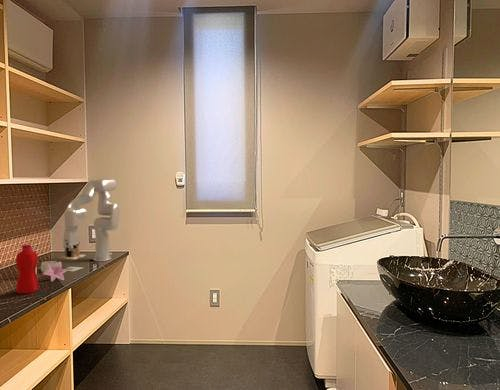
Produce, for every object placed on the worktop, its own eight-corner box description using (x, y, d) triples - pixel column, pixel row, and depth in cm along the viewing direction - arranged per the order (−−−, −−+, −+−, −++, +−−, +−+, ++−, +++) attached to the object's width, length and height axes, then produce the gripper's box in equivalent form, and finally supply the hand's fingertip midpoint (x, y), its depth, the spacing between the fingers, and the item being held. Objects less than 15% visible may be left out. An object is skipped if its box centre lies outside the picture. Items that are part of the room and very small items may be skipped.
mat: (69, 268, 267) (69, 266, 267) (84, 269, 265) (84, 267, 265) (58, 271, 256) (58, 270, 256) (73, 272, 254) (73, 271, 254)
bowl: (48, 269, 262) (48, 260, 262) (60, 270, 260) (60, 261, 260) (38, 273, 253) (38, 263, 253) (50, 273, 251) (50, 264, 251)
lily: (39, 283, 232) (42, 270, 229) (47, 271, 243) (50, 258, 239) (61, 288, 235) (64, 275, 232) (67, 276, 246) (70, 264, 242)
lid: (70, 254, 268) (70, 247, 268) (86, 255, 266) (85, 247, 265) (57, 258, 257) (57, 250, 256) (74, 259, 254) (73, 251, 254)
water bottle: (42, 288, 217) (41, 242, 216) (32, 294, 206) (31, 246, 205) (25, 288, 217) (24, 243, 216) (13, 294, 206) (12, 246, 205)
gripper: (74, 226, 269) (75, 252, 270) (57, 230, 252) (58, 258, 253) (84, 226, 267) (85, 253, 268) (67, 230, 251) (68, 258, 252)
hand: (72, 255), depth 261 cm, fingers closed on lid, 5 cm apart
